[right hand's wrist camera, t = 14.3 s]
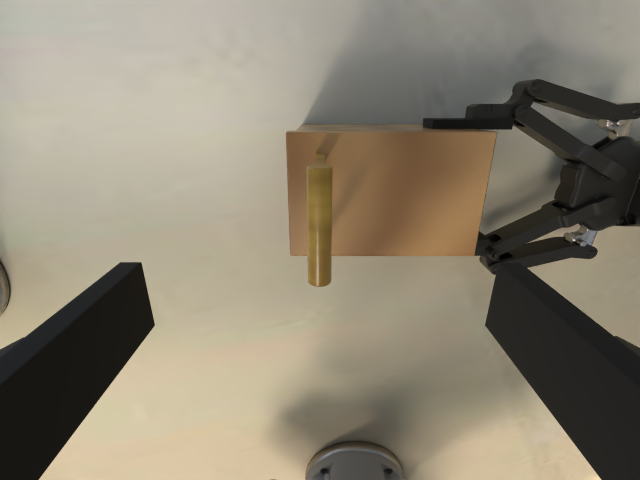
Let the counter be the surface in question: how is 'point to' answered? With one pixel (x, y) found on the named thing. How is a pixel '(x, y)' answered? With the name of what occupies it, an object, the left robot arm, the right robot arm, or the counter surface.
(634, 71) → the counter surface
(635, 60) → the counter surface
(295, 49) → the counter surface
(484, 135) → the lid
